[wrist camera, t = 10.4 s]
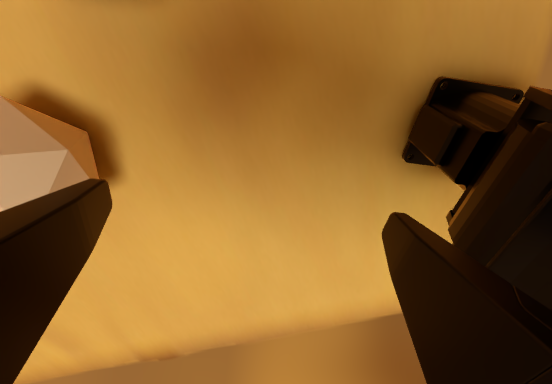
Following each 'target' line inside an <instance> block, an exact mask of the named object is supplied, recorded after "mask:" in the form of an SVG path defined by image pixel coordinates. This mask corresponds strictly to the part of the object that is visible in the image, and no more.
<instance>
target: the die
mask: <svg viewBox="0 0 552 384" xmlns="http://www.w3.org/2000/svg"><path fill="white" fill-rule="evenodd" d="M90 178H95V179H99V176H98V172H97V168H96V164H95V160H94V156H93V152H92V148H91V144H90V140H89V135H88V132H86V131H84V130H81V129H79V128H77V127H74V126H72V125H69V124H67V123H65V122H62V121H60V120H58V119H55V118H53V117H50V116H48V115H46V114H43V113H41V112H38V111H36V110H34V109H31V108H29V107H26V106H24V105H22V104H19V103H17V102H14V101H12V100H10V99H7V98H5V97H2V96H0V212H1V211H3V210H6V209H9V208H12V207H14V206H17V205H20V204H22V203H25V202H28V201H30V200H33V199H36V198H39V197H41V196H44V195H47V194H49V193H52V192H55V191H57V190H60V189H63V188H65V187H68V186H71V185H74V184H76V183H79V182H82V181H84V180H87V179H90Z"/></svg>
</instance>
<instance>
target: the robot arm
mask: <svg viewBox="0 0 552 384" xmlns="http://www.w3.org/2000/svg"><path fill="white" fill-rule="evenodd" d="M443 82H445V85H444V86H443V87H442V88H440V86H441V84H442V83H443ZM515 94H516V95H515ZM514 95H515V97H514V98H513V99H512V97H513V96H514ZM523 95H524V93H523V91H521V90H518V89H515V88H509V87H503V86H497V85H491V84H485V83H479V82H473V81H467V80H461V79H455V78H449V77H441V78H439V79H437V80H436V82H435V83H434V86H433V88H432V90H431V92H430V95H429V97H428V99H427V101H426V103H425V106H424V107H423V108H422V109H421V111H420V114H419V116H418V118H417V120H416V123H415V125H414V127H413V129H412V131H411V134H410V136H409V141H408V143H407V146H406V148H405V150H404V152H403V155H402V158H403V159H404V160H405V161H406V162H407V163H414V164H422V165H430V166H437V167H438V168H440V169H441V170H442V171H443V172H444V173H445V174H446V175H447V176H448V177H449V178H450V179H451V180H452V181H453V182H454V183H456V184H458V185H459V186H460V187H461V188H462V189H463V190H464V193H463V195H462V196H461V198H460V199H459V201H458V202H457V204H456V205H455V207H454V208H453V210H450V211H449V213H448V215H447V216H446V219H447V222H448V225H449V228H448V231H449V234H450V236H451V239H452V241H453V244H451V243H449V242H448V241H446V240H445V239H443V238H442V237H440V236H439V235H437V234H436V233H434V232H433V231H431V230H430V229H428V228H427V227H425V226H424V225H422V224H421V223H419V222H418V221H416V220H415V219H413V218H412V217H410V216H409V215H407V214H405V213H398V212H393V213H391V214H390V216H389V218H388V220H387V222H386V224H385V226H384V228H383V231H382V240H383V244H384V249H385V254H386V258H387V263H388V267H389V272H390V275H391V279H392V282H393V285H394V288H395V291H396V294H397V297H398V300H399V303H400V306H401V309H402V312H403V315H404V318H405V321H406V324H407V327H408V330H409V333H410V336H411V338H412V341H413V344H414V347H415V350H416V353H417V356H418V359H419V362H420V364H421V368H422V371H423V374H424V377H425V380H426V383H427V384H552V90H550V89H544V88H538V87H533V86H530V87H529V88H528V90H527V92H526V93H525V95H524V96H523ZM523 97H525V99H524V100H523V102H522V103H521V105H519V103H520V101H521V100H522V98H523ZM410 154H412V155H411V157H409V158H407V157H408V156H409V155H410ZM111 209H112V199H111V194H110V189H109V185H108V182H107V181H106V180H104V179H95V178H90V179H87V180H84V181H82V182H79V183H76V184H74V185H71V186H68V187H65V188H63V189H60V190H57V191H55V192H52V193H49V194H47V195H44V196H41V197H39V198H36V199H33V200H30V201H28V202H25V203H22V204H20V205H17V206H14V207H12V208H9V209H6V210H3V211H1V212H0V384H13V383H14V381H15V380H16V378H17V376H18V375H19V373H20V371H21V370H22V368H23V366H24V365H25V363H26V361H27V360H28V358H29V356H30V355H31V353H32V351H33V350H34V348H35V346H36V345H37V343H38V341H39V340H40V338H41V336H42V335H43V333H44V331H45V330H46V328H47V326H48V325H49V323H50V321H51V320H52V318H53V316H54V315H55V313H56V311H57V310H58V308H59V306H60V305H61V303H62V301H63V300H64V298H65V296H66V295H67V293H68V291H69V290H70V288H71V286H72V285H73V283H74V282H75V280H76V278H77V277H78V275H79V273H80V272H81V270H82V268H83V267H84V265H85V263H86V262H87V260H88V258H89V256H90V255H91V253H92V251H93V249H94V247H95V245H96V243H97V240H98V238H99V236H100V234H101V232H102V229H103V227H104V225H105V223H106V220H107V218H108V216H109V214H110V211H111Z"/></svg>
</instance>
